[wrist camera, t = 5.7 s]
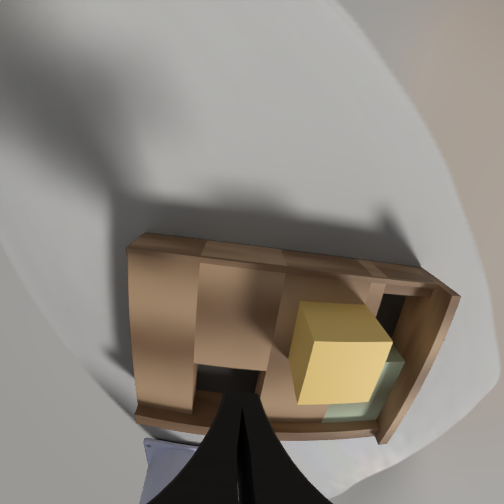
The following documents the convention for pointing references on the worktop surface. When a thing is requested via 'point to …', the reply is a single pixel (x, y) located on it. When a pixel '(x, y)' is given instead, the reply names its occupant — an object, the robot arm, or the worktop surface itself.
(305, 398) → the ochre block
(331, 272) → the box
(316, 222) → the worktop surface
